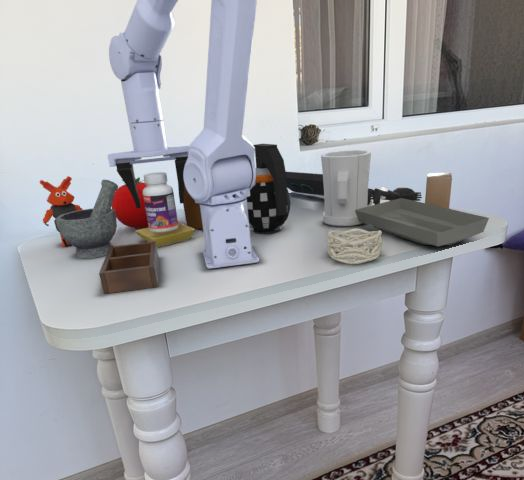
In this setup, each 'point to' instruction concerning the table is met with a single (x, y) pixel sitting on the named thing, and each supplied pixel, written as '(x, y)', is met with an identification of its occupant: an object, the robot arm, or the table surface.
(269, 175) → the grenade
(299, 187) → the smart home device
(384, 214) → the grey tray
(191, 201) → the mug
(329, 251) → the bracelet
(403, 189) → the figurine
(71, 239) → the mortar and pestle
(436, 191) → the wooden block
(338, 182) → the cup
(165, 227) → the pill bottle
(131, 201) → the tomato
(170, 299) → the table surface
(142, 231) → the saucer
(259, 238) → the table surface
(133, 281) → the rack
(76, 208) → the toy animal
